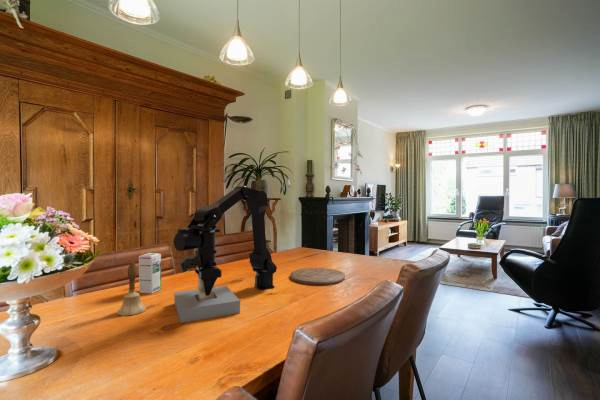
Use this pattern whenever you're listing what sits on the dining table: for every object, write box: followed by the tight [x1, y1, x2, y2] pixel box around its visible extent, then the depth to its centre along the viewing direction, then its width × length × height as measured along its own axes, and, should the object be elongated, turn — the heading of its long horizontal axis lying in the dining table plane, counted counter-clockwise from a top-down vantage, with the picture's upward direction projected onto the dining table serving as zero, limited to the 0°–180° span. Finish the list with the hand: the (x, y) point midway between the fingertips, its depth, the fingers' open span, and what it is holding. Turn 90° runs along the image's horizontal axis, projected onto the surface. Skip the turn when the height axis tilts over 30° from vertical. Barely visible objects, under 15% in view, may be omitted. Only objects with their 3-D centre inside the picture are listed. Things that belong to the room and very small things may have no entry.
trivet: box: [289, 267, 346, 286], centre depth 144 cm, size 25×25×2 cm
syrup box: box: [138, 252, 163, 294], centre depth 122 cm, size 6×6×14 cm
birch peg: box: [197, 274, 215, 301], centre depth 105 cm, size 4×4×9 cm
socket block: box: [173, 285, 241, 324], centre depth 105 cm, size 18×18×4 cm
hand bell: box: [116, 261, 147, 317], centre depth 102 cm, size 8×8×16 cm
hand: (206, 293), depth 105 cm, fingers closed on birch peg, 4 cm apart
